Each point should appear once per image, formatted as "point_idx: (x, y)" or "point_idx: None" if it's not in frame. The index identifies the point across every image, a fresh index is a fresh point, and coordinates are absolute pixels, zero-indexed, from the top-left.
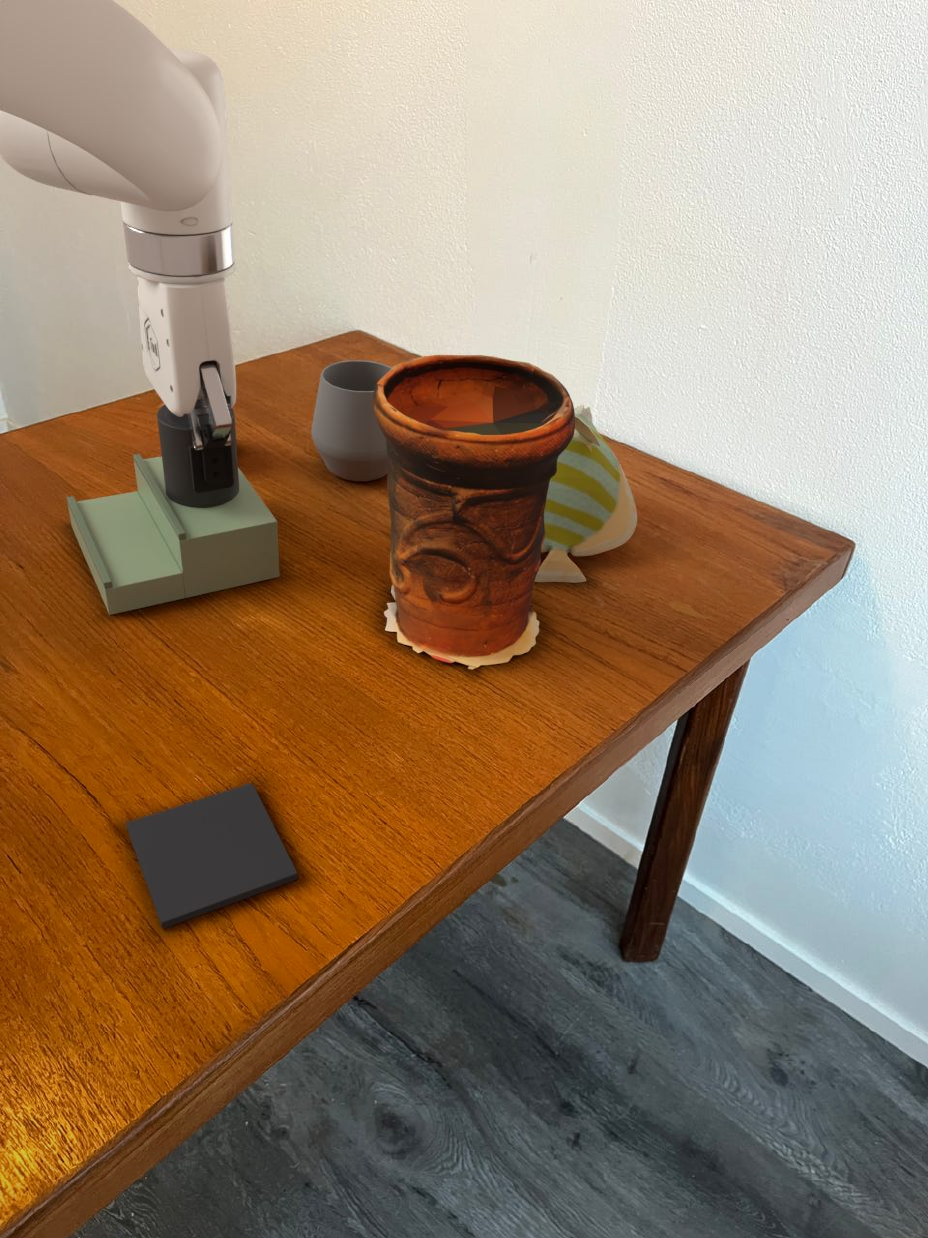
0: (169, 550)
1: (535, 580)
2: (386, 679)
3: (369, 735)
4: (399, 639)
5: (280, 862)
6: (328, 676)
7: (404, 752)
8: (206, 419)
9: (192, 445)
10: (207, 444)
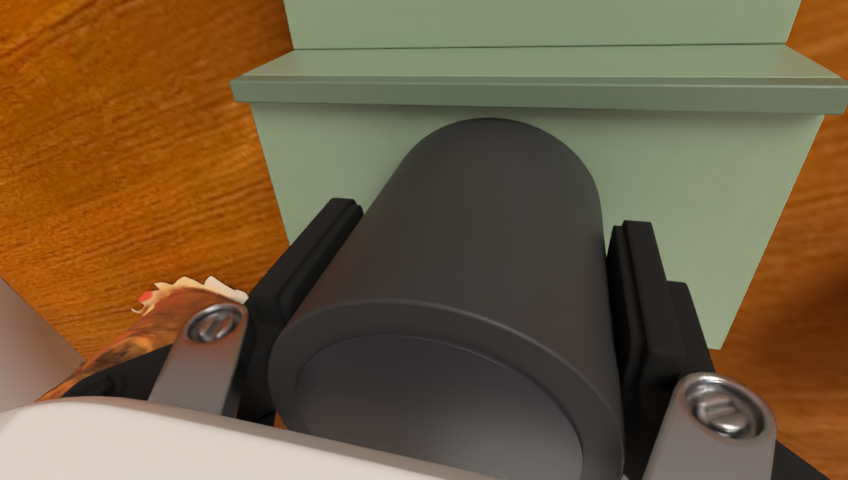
0: (392, 46)
1: (287, 429)
2: (120, 232)
3: (23, 172)
4: (189, 280)
5: None
6: (119, 176)
7: (7, 192)
8: (349, 435)
9: (275, 307)
10: (161, 352)
